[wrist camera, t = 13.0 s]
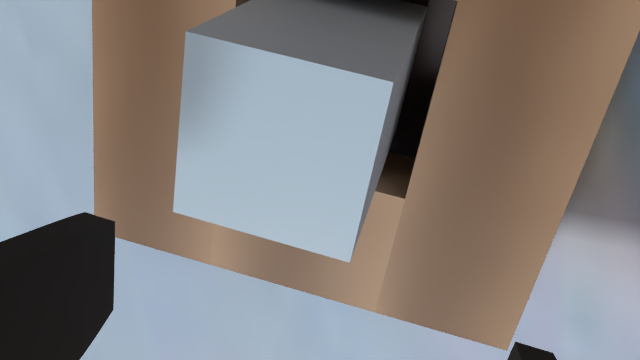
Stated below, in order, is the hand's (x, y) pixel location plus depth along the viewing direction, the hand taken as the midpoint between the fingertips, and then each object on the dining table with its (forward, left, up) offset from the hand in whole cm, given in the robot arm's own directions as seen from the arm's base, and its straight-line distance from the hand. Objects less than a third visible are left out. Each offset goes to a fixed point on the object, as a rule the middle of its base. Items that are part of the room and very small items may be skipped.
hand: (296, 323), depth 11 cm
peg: (+2, -2, -10) cm, 11 cm away
